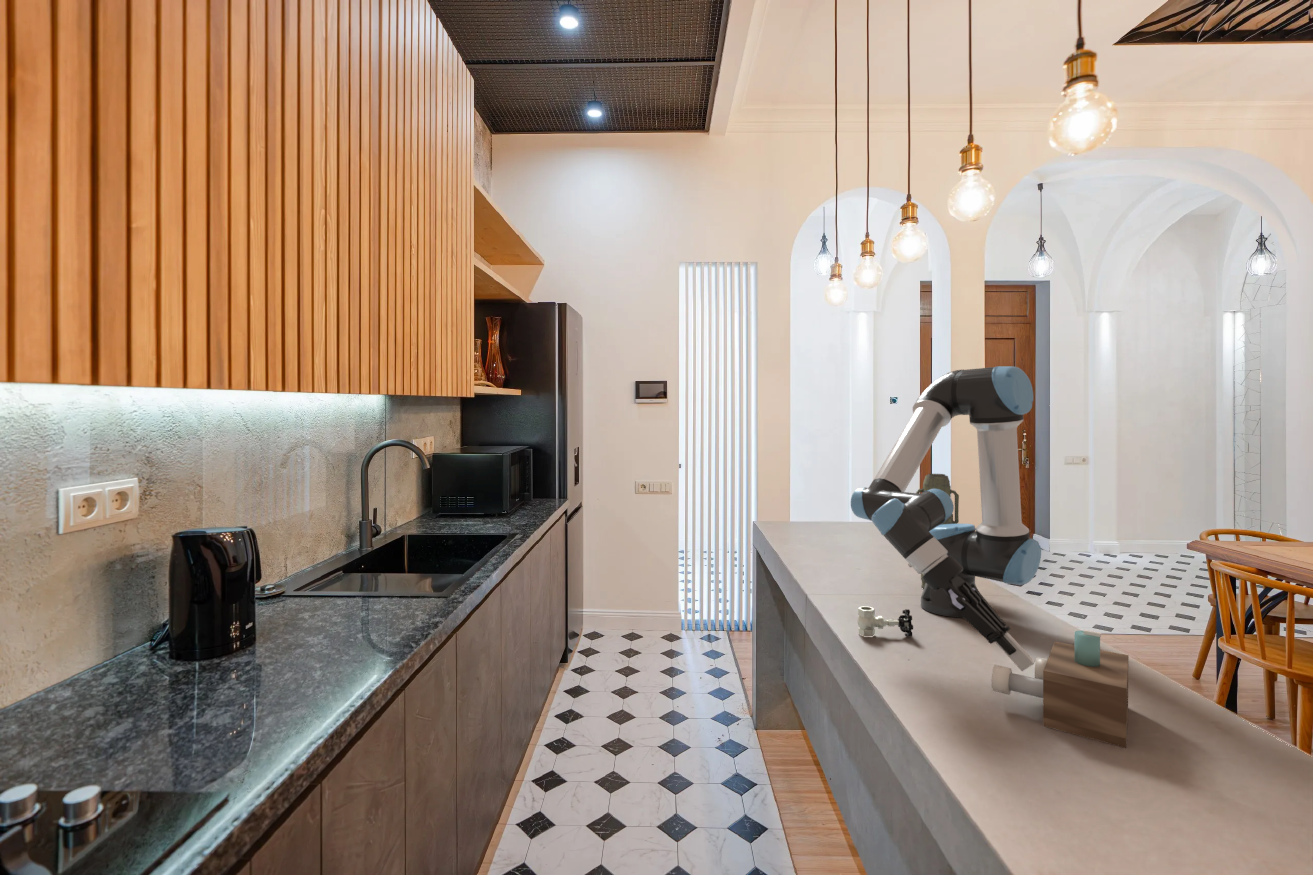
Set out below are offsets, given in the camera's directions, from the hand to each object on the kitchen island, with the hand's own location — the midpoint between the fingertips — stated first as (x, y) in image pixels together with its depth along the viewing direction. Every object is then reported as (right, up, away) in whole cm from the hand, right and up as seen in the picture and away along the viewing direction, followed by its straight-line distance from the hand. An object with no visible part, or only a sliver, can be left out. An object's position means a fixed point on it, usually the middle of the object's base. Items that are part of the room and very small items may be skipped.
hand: (1028, 666), depth 112 cm
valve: (-15, -5, +31) cm, 35 cm away
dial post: (+5, +4, -9) cm, 11 cm away
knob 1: (-3, -3, -8) cm, 9 cm away
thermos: (+15, -3, +69) cm, 71 cm away
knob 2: (+6, -3, -5) cm, 8 cm away
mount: (+5, -5, -9) cm, 11 cm away
